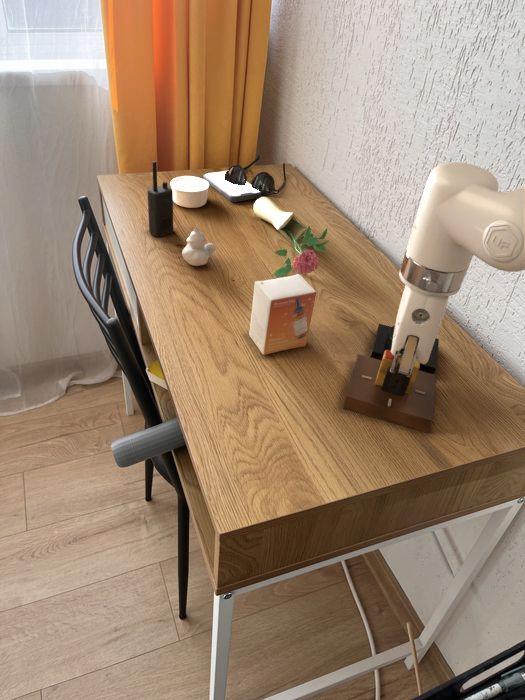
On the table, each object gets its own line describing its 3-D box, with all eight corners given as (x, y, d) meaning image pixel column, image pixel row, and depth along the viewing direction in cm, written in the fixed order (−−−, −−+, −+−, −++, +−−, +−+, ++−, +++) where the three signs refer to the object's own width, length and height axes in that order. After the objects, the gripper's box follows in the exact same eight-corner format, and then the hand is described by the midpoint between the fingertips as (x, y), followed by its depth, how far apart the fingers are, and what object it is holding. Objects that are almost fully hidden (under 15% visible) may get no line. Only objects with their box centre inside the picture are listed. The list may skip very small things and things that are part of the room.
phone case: (201, 179, 134) (231, 203, 124) (201, 173, 133) (232, 197, 123) (231, 175, 138) (263, 198, 128) (231, 169, 137) (263, 192, 127)
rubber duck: (179, 257, 103) (179, 219, 98) (212, 254, 105) (213, 217, 100) (185, 271, 99) (185, 233, 94) (219, 268, 101) (221, 230, 96)
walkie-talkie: (165, 226, 113) (163, 155, 103) (175, 232, 111) (174, 161, 101) (146, 232, 110) (143, 160, 100) (156, 238, 108) (154, 166, 99)
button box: (435, 349, 88) (442, 330, 85) (432, 378, 82) (440, 359, 79) (376, 333, 90) (381, 314, 87) (369, 361, 84) (374, 342, 81)
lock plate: (431, 387, 80) (436, 374, 79) (427, 432, 73) (432, 419, 71) (354, 366, 83) (358, 353, 81) (342, 408, 75) (346, 395, 73)
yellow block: (410, 385, 76) (421, 357, 73) (409, 394, 75) (420, 366, 72) (376, 375, 77) (385, 348, 74) (374, 384, 76) (383, 356, 72)
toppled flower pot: (275, 250, 124) (336, 305, 95) (227, 237, 119) (276, 290, 90) (292, 201, 120) (361, 242, 91) (243, 185, 115) (300, 224, 86)
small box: (262, 356, 82) (269, 300, 76) (248, 335, 86) (253, 280, 79) (307, 346, 85) (317, 291, 79) (291, 326, 89) (299, 272, 82)
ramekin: (215, 199, 126) (216, 181, 123) (197, 212, 119) (198, 194, 116) (182, 190, 128) (182, 172, 125) (163, 203, 121) (163, 185, 118)
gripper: (463, 314, 57) (416, 428, 68) (465, 246, 70) (425, 351, 81) (394, 297, 58) (359, 411, 70) (408, 233, 71) (377, 338, 83)
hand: (395, 378), depth 75 cm, fingers open, 5 cm apart
